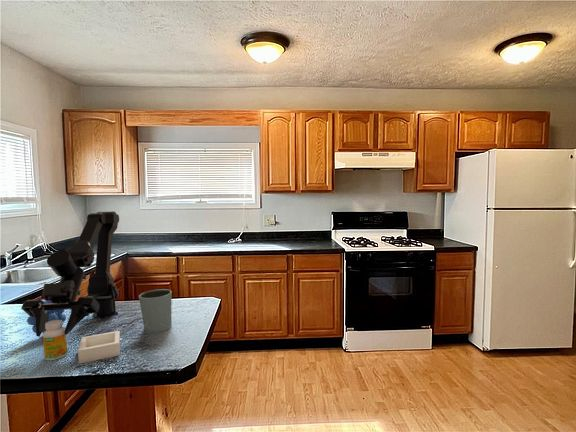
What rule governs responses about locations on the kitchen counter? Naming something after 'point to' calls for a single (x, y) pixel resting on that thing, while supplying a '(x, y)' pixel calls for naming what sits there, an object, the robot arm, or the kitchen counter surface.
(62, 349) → the supplement bottle
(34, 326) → the grapes
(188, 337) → the kitchen counter surface
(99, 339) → the cream square tray
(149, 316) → the grey green cup
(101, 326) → the kitchen counter surface
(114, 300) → the robot arm
